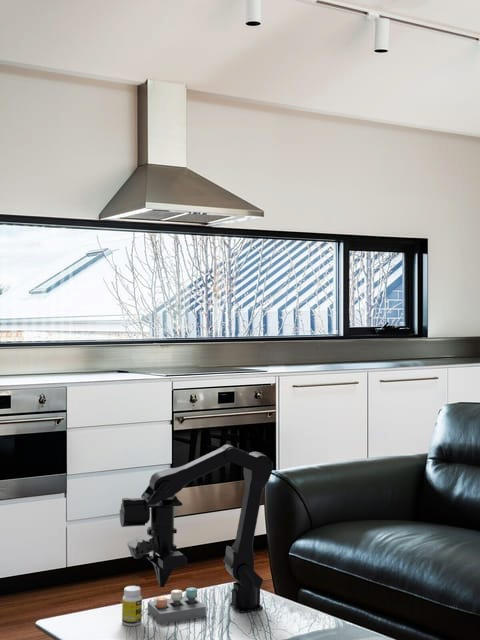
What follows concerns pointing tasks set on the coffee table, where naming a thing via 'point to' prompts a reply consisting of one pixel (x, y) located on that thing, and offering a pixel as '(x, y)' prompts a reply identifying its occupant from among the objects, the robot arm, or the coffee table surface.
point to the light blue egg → (191, 595)
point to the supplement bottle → (132, 606)
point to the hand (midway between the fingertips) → (161, 586)
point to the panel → (177, 611)
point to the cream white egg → (176, 597)
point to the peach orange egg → (161, 602)
